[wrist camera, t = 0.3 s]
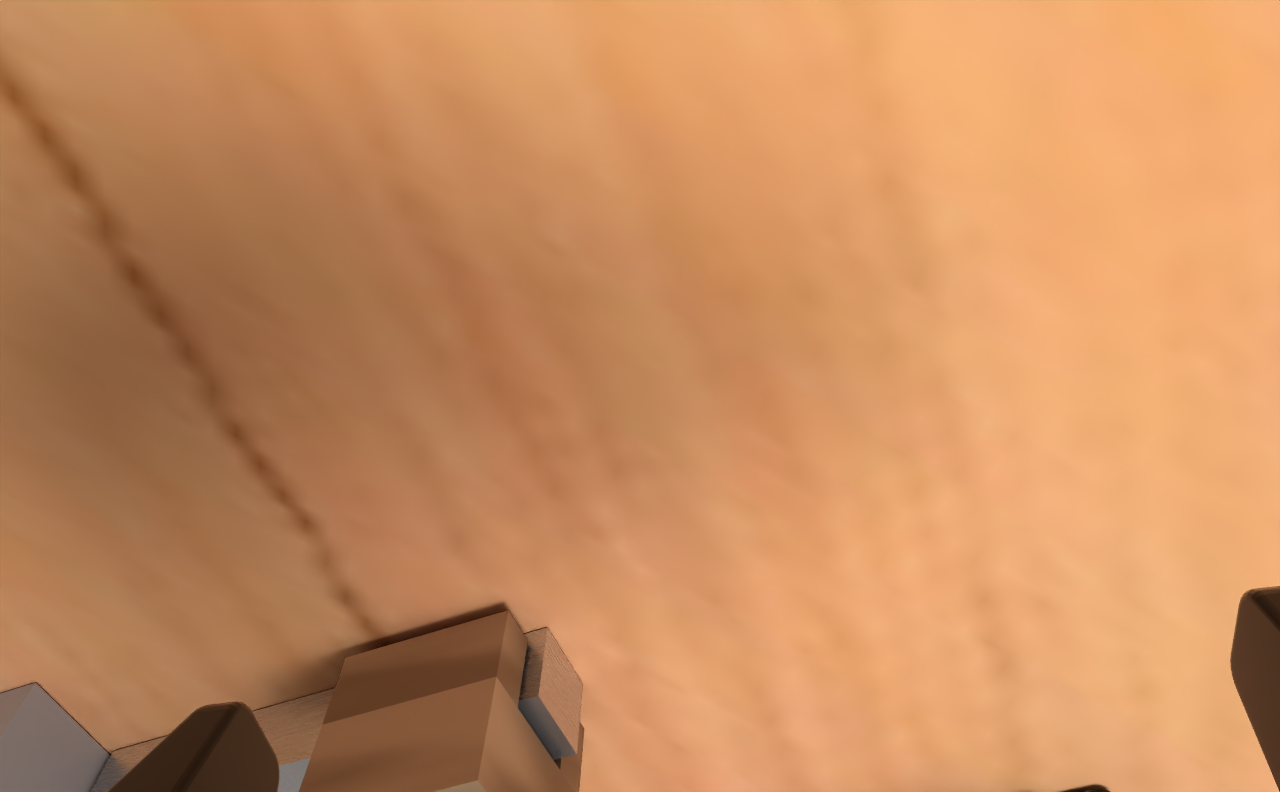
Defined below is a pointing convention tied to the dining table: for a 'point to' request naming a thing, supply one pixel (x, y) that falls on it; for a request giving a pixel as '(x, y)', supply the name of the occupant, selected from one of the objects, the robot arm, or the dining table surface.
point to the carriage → (437, 719)
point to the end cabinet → (44, 746)
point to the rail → (297, 723)
